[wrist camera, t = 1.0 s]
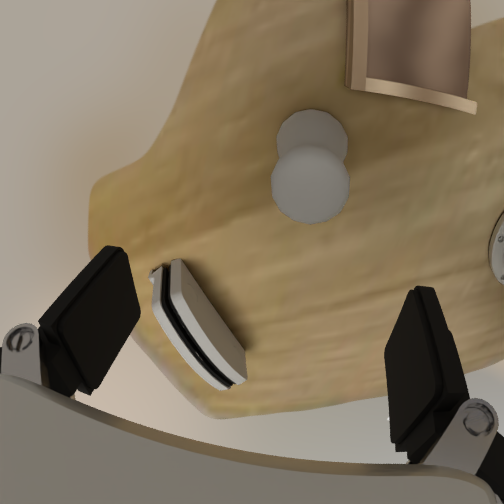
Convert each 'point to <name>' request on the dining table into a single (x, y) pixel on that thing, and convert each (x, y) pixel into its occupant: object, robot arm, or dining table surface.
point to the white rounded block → (196, 327)
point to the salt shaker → (311, 167)
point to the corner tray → (410, 50)
